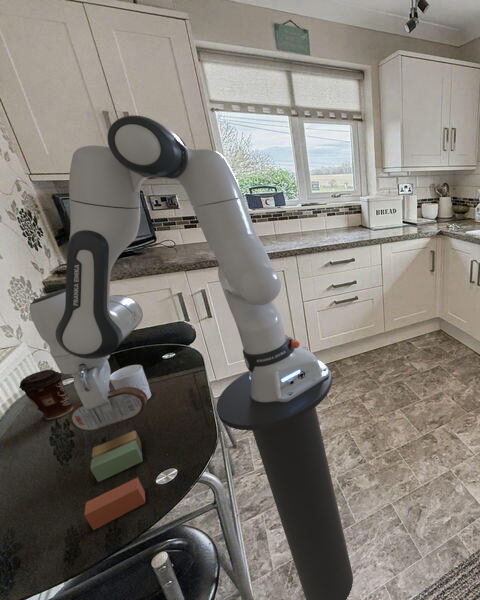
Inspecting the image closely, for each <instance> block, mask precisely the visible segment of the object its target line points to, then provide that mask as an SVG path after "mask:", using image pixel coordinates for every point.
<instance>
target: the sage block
mask: <svg viewBox="0 0 480 600" xmlns="http://www.w3.org/2000/svg"><path fill="white" fill-rule="evenodd" d="M90 460H91V462H90V469H89V470H90V471H91V473H92V474H93V476H94V478H95V479H96V482H97V483H100V482H101V481H102V482H103V481H104V480H107V479H109V478H110V477H113V476H115V475H117V474H119V473H122V472H124V471H125V470H128V469H130V468H131V467H134V466H136V465H138V464H140V463H143V452H142V451H141V450H140V448H139V446H138V444H137V442H136V440H135V441H133V442H130V443H128V444H126V445H123V446H121V447H119V448H116V449H114V450H112V451H110V452H107V453H105V454H103V455H100V456H98V457H96V458H91V459H90Z"/></svg>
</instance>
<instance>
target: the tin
mask: <svg viewBox="0 0 480 600" xmlns="http://www.w3.org/2000/svg"><path fill="white" fill-rule="evenodd" d="M108 400H109V401H110V402H111V404H112V409H111V410H109V411H107V412H103V411H102V409H101V407H99V408H96V409H93V410H90V411H88V410H87V409H85V407H84V406H83V404H82V402H81V400H79V401H77V402H76V403H75V404H73V406H74V407H73V408H72V410H71V411H70V412H69V415H68V420H69V423H70V424H71V426H73V427H74V429H77V430H79V431H83V432H93V431H98V430H102V429H105V428H107V427H110V426H114V425H116V424H119V423H123V422H125V421H129V420H132V419H135V418H137V417H138V416H140V415H141V414H142V413H143V412H144V410H145V408H146V406H147V404H148V400H147V396H146V394H145V393H144V392H143V391H142V390H140V389H138V388H135V387H123V388H119V389H116V390H115V389H113V390H110V391H109V392H108Z"/></svg>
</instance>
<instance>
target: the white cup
mask: <svg viewBox="0 0 480 600" xmlns="http://www.w3.org/2000/svg"><path fill="white" fill-rule="evenodd" d="M109 383H111V385H112V387H113V390H116V389H119V388H123V387H135V388H138V389H140V390H142V391H143V392H144V393H145V394H146V396H147V401H149V399H151V397H152V393H151V389H150V385H149V382H148V379H147V376H146V374H145V370H144V367H143V365H141V364H132V365H127V366H124V367H122V368H119V369H118V370H115V371H114V372H112V373H110V382H109Z"/></svg>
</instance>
